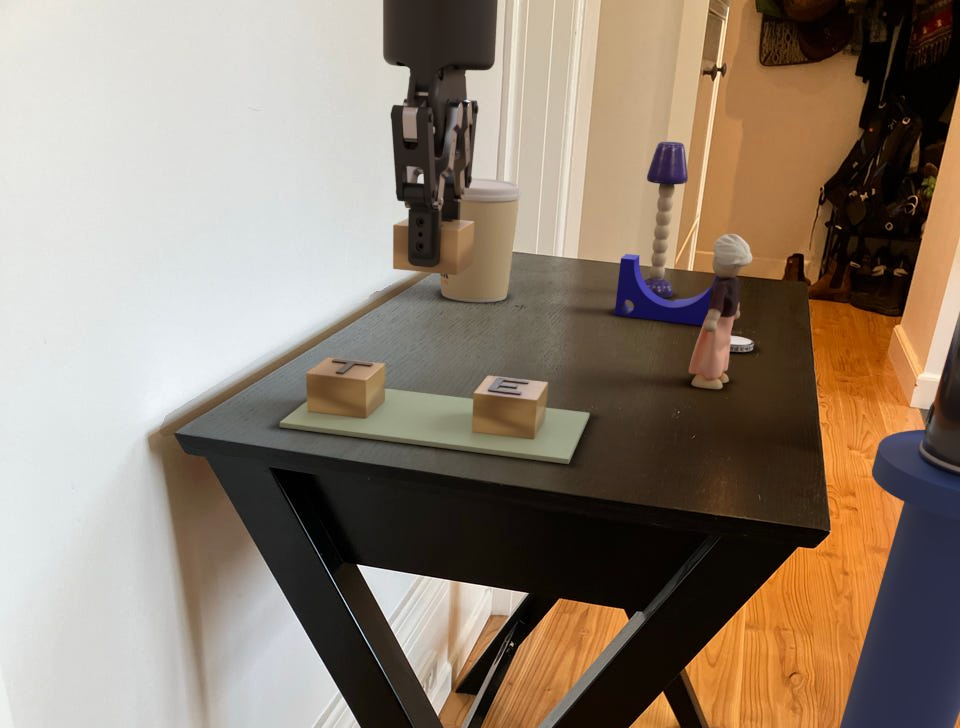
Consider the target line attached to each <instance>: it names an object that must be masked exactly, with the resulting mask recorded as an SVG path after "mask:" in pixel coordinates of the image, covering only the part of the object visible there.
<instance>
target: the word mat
mask: <svg viewBox="0 0 960 728" xmlns="http://www.w3.org/2000/svg"><path fill="white" fill-rule="evenodd" d="M472 415H473V398H468V397H460V396H451V395H444V394H443V395H442V394H434V393H427V392H418V391H410V390H402V389H392V388H385V401H384V402H383V403H382V404H381V405H380V406H379V407H378V408H377V409H376V410H375V411H374V412H372V413H371V414H370V415H369V416H368V417H367V418H358V417H350V416H342V415H334V414H326V413H318V412H310V411H308V408H307V400H306V401H305V402H303V403H302V404H301V405H299V406H298V407H297V408H296V409H294V410H293V411H292V412H291V413H290V414H288V415H287V416H286V417H284V418H283V419H282V420H280V421H279V428H284V429H291V430H297V431H298V430H299V431H307V432H314V433H323V434H324V433H325V434H330V435H336V436H337V435H338V436H347V437H355V438H362V439H367V440H368V439H370V440H377V441H384V442H392V443H400V444H408V445H416V446H425V447H431V448H439V449H440V448H441V449H448V450H455V451H456V450H457V451H463V452H470V453H478V454H487V455H494V456H502V457H509V458H518V459H525V460H534V461H540V462H549V463H558V464H564V465H569V464H570V462H571V459H572V457H573V455H574V453H575V450H576V448H577V446H578V443H579V441H580V439H581V437H582V434H583V432H584V430H585V428H586V426H587V423H588V420H589V419H590V415H591V413H590V412H588V411H577V410H569V409H562V408H555V407H554V408H552V407H546V416H545V421H544V422H543V424H542V426H541V428H540V429H539V431H538V433H537V435H536V437H535V438H534V439H528V438H519V437H511V436H503V435H495V434H487V433H479V432H472Z"/></svg>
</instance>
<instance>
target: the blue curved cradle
mask: <svg viewBox="0 0 960 728" xmlns="http://www.w3.org/2000/svg"><path fill="white" fill-rule="evenodd" d="M640 256H641V255H640V254H631V253H625V254H624V255H623V256H622V257H620V261H619V262H620V263H619V271H618V280H617V289H616V297H615V308H614V315H615V316H620V317H622V316H623V317H630V318H638V319H645V320H653V321H654V320H655V321H663V322H670V323H678V324H687V325H695V326H701V327H702V326H703V323H704V321H705V318H706V316H707V314H708V309H709V301H710V293H711V289H712V286H713V285H714V283H715V282H716V280H717V278H718V276H717V275H716V274H715V278H714V280H713V283H712V285H711V286H710V287H709V288H707V289H706V290H704V291H703V292H701V293H700V294H698V295H696V296H693V297H690V298H689V297H688V298H684V299H683V298H682V299H678V298H676V299H675V300H674V301H671V300H668V299H666V298H660V297H659V296H657V295H656V294H654V293H653V292H652V291H651V290H650V289H649V288H648V286H647V285H646V283H645V282H644V280H645V279H644V278H643V275H642V272H641V266H640ZM626 301H630V302H631V303H632V306H633V308H631V307H629V306H628V305H627V304H626V303H627V302H626Z"/></svg>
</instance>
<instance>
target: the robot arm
mask: <svg viewBox="0 0 960 728" xmlns="http://www.w3.org/2000/svg"><path fill="white" fill-rule="evenodd" d="M498 1H499V0H382V57H383V60H384V61H385V62H386V63H387V64H388V65H390V66H396V67H405V68H408V69H409V77H408V86H407V93H406V98H404V99H403V103H402V105H401V104H393V105H392V107H391V111H390V121H391V123H390V124H391V132H392V133H391V134H392V151H393V165H394V180H395V195H396V200H397V201H398V202H404V207H405V208H406V209H408V211H407V212H408V213H407V214H408V217H407V218H408V261H409V263H410V264H411V265H413V266H421V267H435V266H436V265H438V264H439V262H440V245H441V218H446V219H454V220H460V207H461V202H459V201H458V199H459V200H463V198H464V195H465V193H466V188H469V187H470V183H471V182H472V178H473V177H472V172H473V163H474V150H475V142H476V130H477V120H478V114H479V105H478V101H477V100H475V99H468V92H467V77H466V72H467V71H489V70H491V69H492V68H493V66H494V65H495V61H496V44H497V23H498ZM420 175H423V183H421V182H418V179H419V177H420ZM926 423H927V424H926ZM925 424H926V425H925V428H924V430H925V433H924V437H923V440H922V441H921V443H920V447H919V450H918V453H919V455H920V457H921V458H922V459H923V460H924V461H925V462H927V463H928V464H930V465H932V466H934V467H936V468H938V469H940V470H943V471H945V472H947V473H950V474H954V475H957V476H960V311H959V312H958V316H957V320H956V323H955V326H954V330H953V334H952V337H951V339H950V344H949V346H948V350H947V355H946V357H945V362H944V364H943V367H942V372H941V375H940V378H939V381H938V386H937V389H936V392H935V396H934V399H933V401H932V403H931V404H930V406H929V408H928V413H927V416H926V420H925Z"/></svg>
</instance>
